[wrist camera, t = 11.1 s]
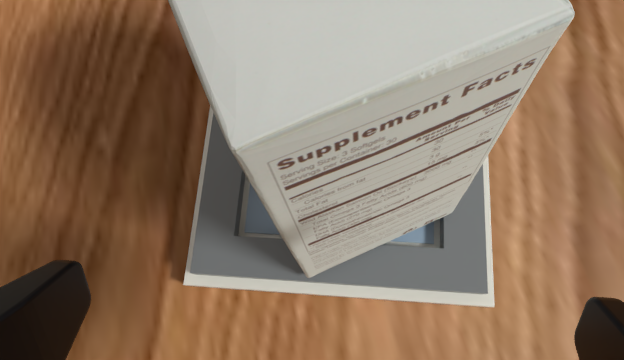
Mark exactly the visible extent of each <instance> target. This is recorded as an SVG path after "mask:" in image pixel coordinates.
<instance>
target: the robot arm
mask: <svg viewBox="0 0 624 360" xmlns="http://www.w3.org/2000/svg"><path fill="white" fill-rule="evenodd" d="M90 302H91V294H90V290H89V287H88V284H87V281H86V278H85V274H84V271H83V268H82V266H81V264H80V263H79V262H76V261H69V260H55V261H52V262H50V263H48V264H46V265H44V266H42V267H40V268H38V269H36V270H34V271H32V272H30V273H28V274H26V275H24V276H22V277H20V278H18V279H16V280H14V281H12V282H10V283H8V284H6V285H4V286H2V287H0V360H66V358H67V355H68V353H69V351H70V349H71V346H72V344H73V342H74V340H75V338H76V335H77V333H78V331H79V329H80V327H81V324H82V322H83V320H84V318H85V315H86V313H87V311H88V309H89V306H90ZM574 337H575V346H576V350H577V353H578V356H579V360H624V302H622V301H621V300H619V299H615V298H604V297H592V298H590V299H589V300H588V301H587V303H586V305H585V307H584V310H583V313H582V315H581V318H580V320H579V323H578V325H577V328H576V330H575V336H574Z"/></svg>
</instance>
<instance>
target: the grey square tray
mask: <svg viewBox="0 0 624 360" xmlns="http://www.w3.org/2000/svg"><path fill="white" fill-rule="evenodd" d="M183 285H187V286H195V287H209V288H223V289H237V290H251V291H265V292H279V293H293V294H307V295H321V296H335V297H349V298H363V299H377V300H391V301H405V302H419V303H433V304H447V305H460V306H474V307H494V283H493V259H492V236H491V212H490V188H489V165H488V156H487V157H486V159H485V161H484V162H483V164H482V166H481V167H480V169H479V171H478V172H477V174H476V175H475V177H474V179H473V180H472V182H471V184H470V185H469V187H468V189H467V190H466V192H465V193H464V195H463V196H462V198H461V199H460V201H459V203H458V204H457V206H456V207H455V209H454V211H453V212H452V213H451V214H449V215H447V216H444V217H442V218H440V219H438V220H435V221H433V222H431V223H429V224H427V225H425V226H422V227H420V228H418V229H416V230H414V231H411V232H409V233H407V234H405V235H402V236H400V237H398V238H396V239H393V240H391V241H389V242H387V243H385V244H382V245H380V246H378V247H376V248H374V249H371V250H369V251H367V252H365V253H362V254H360V255H358V256H356V257H354V258H351V259H349V260H347V261H345V262H343V263H340V264H338V265H336V266H334V267H332V268H330V269H327V270H325V271H323V272H321V273H319V274H317V275H315V276H313V277H311V278H307V277H306V275H305V274H304V272H303V270H302V269H301V267H300V266H299V264H298V263H297V261H296V260H295V258H294V256H293V255H292V253H291V251H290V250H289V248H288V247H287V245H286V243H285V242H284V240H283V238H282V237H281V235H280V233H279V232H278V230H277V228H276V227H275V225H274V223H273V221H272V219H271V218H270V216H269V214H268V212H267V210H266V209H265V207H264V205H263V203H262V202H261V200H260V198H259V197H258V195H257V193H256V192H255V190H254V188H253V187H252V185H251V183H250V182H249V180H248V178H247V176H246V175H245V173H244V171H243V170H242V168H241V166H240V165H239V163H238V161H237V160H236V158H235V156H234V155H233V153H232V152H231V150H230V148H229V146H228V144H227V142H226V140H225V137H224V135H223V133H222V131H221V128H220V126H219V124H218V121H217V119H216V117H215V115H214V112H213V110H212V108H211V106H210V110H209V117H208V124H207V130H206V137H205V144H204V151H203V157H202V164H201V171H200V177H199V184H198V191H197V197H196V204H195V211H194V217H193V224H192V231H191V237H190V244H189V251H188V257H187V264H186V271H185V277H184V284H183Z"/></svg>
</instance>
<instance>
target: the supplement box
mask: <svg viewBox="0 0 624 360" xmlns="http://www.w3.org/2000/svg"><path fill="white" fill-rule="evenodd" d="M168 1H169V4H170V6H171V9H172V11H173V14H174V16H175V19H176V22H177V24H178V27H179V29H180V32H181V34H182V37H183V39H184V42H185V44H186V47H187V49H188V52H189V54H190V57H191V59H192V62H193V64H194V67H195V69H196V72H197V74H198V76H199V79H200V81H201V84H202V86H203V89H204V91H205V93H206V96H207V98H208V101H209V103H210V106H211V108H212V110H213V112H214V115H215V117H216V119H217V121H218V124H219V126H220V128H221V131H222V133H223V135H224V137H225V140H226V142H227V144H228V146H229V148H230V150H231V152H232V153H233V155H234V156H235V158H236V160H237V161H238V163H239V165H240V166H241V168H242V170H243V171H244V173H245V175H246V176H247V178H248V180H249V182H250V183H251V185H252V187H253V188H254V190H255V192H256V193H257V195H258V197H259V198H260V200H261V202H262V203H263V205H264V207H265V209H266V210H267V212H268V214H269V216H270V218H271V219H272V221H273V223H274V225H275V227H276V228H277V230H278V232H279V233H280V235H281V237H282V238H283V240H284V242H285V243H286V245H287V247H288V248H289V250H290V251H291V253H292V255H293V256H294V258H295V260H296V261H297V263H298V264H299V266H300V267H301V269H302V270H303V272H304V274H305V275H306V277H307V278H311V277H313V276H315V275H317V274H319V273H321V272H323V271H325V270H327V269H330V268H332V267H334V266H336V265H338V264H340V263H343V262H345V261H347V260H349V259H351V258H354V257H356V256H358V255H360V254H362V253H365V252H367V251H369V250H371V249H374V248H376V247H378V246H380V245H382V244H385V243H387V242H389V241H391V240H393V239H396V238H398V237H400V236H402V235H405V234H407V233H409V232H411V231H414V230H416V229H418V228H420V227H422V226H425V225H427V224H429V223H431V222H433V221H435V220H438V219H440V218H442V217H444V216H447V215H449V214H451V213H452V212H453V211H454V209H455V207H456V206H457V204H458V203H459V201H460V199H461V198H462V196H463V195H464V193H465V192H466V190H467V189H468V187H469V185H470V184H471V182H472V180H473V179H474V177H475V175H476V174H477V172H478V171H479V169H480V167H481V166H482V164H483V162H484V161H485V159H486V157H487V156H488V154H489V152H490V151H491V149H492V147H493V146H494V144H495V142H496V141H497V139H498V137H499V136H500V134H501V132H502V131H503V129H504V127H505V125H506V124H507V122H508V120H509V119H510V117H511V115H512V114H513V112H514V110H515V109H516V107H517V105H518V104H519V102H520V101H521V99H522V97H523V96H524V94H525V92H526V91H527V89H528V87H529V86H530V84H531V82H532V81H533V79H534V77H535V76H536V74H537V72H538V71H539V69H540V68H541V66H542V64H543V63H544V61H545V60H546V58H547V56H548V55H549V53H550V52H551V50H552V49H553V47H554V46H555V44H556V43H557V41H558V40H559V38H560V37H561V35H562V34H563V32H564V31H565V30H566V28H567V27H568V25H569V24H570V22H571V21H572V19H573V18H574V14H575V12H574V9H573V7H572V5H571V3H570V2H569V0H168Z"/></svg>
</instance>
